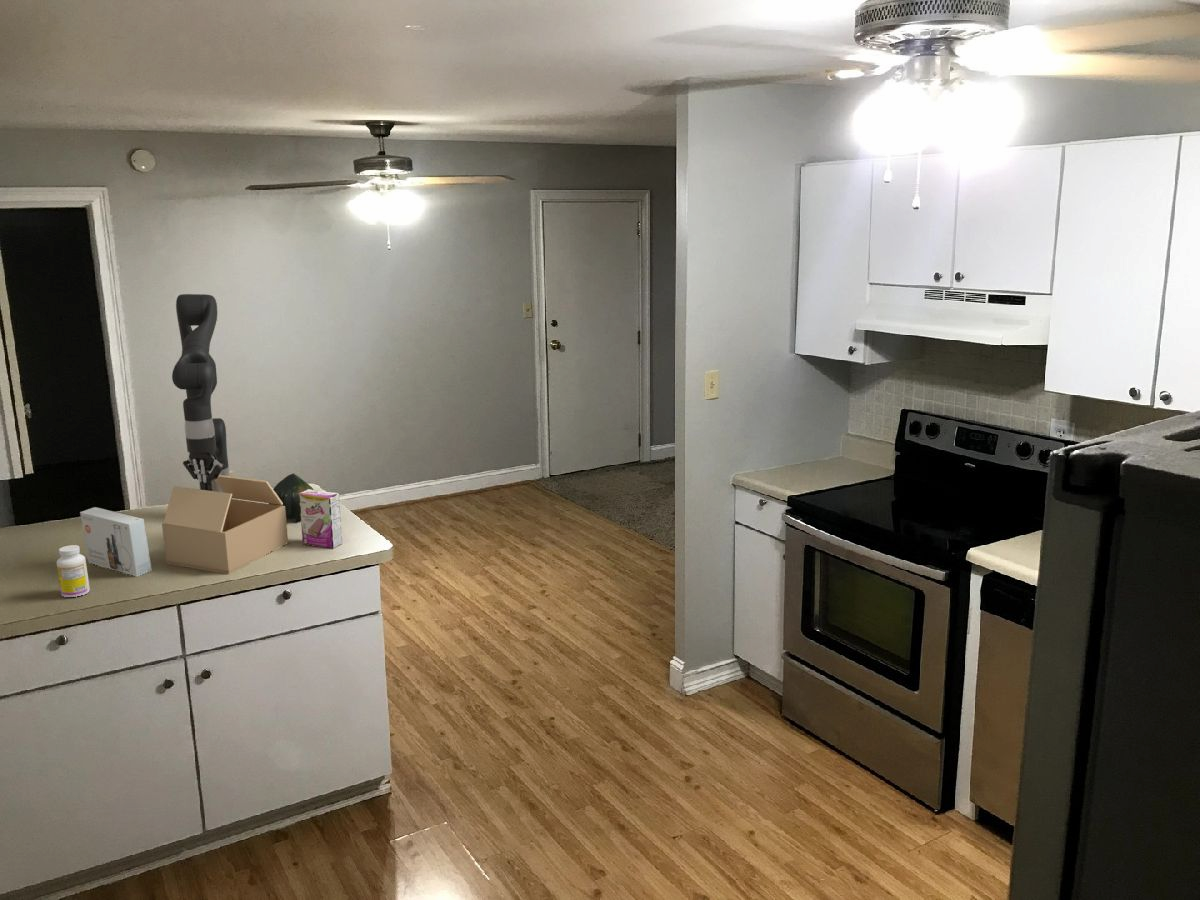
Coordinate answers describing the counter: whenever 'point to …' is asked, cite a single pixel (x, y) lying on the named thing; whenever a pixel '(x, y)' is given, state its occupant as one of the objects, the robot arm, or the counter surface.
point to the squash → (291, 494)
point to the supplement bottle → (72, 572)
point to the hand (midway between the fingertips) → (206, 493)
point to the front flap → (197, 508)
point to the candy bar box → (320, 518)
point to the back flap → (248, 489)
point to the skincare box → (116, 541)
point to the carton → (228, 538)
